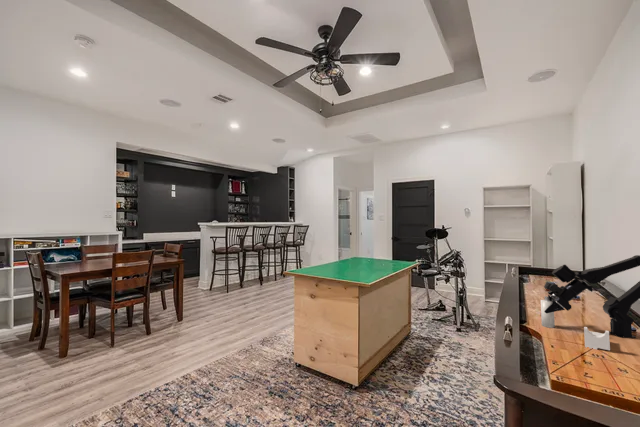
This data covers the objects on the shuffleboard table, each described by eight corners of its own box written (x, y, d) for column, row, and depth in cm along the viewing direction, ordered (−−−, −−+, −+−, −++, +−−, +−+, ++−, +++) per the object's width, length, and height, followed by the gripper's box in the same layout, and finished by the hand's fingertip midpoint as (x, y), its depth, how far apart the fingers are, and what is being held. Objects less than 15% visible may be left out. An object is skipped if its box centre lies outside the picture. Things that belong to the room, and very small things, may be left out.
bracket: (610, 352, 111) (609, 332, 111) (584, 347, 116) (583, 328, 116) (609, 343, 120) (608, 324, 120) (585, 338, 125) (584, 320, 125)
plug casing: (557, 328, 138) (556, 298, 139) (546, 327, 138) (544, 297, 139) (550, 324, 143) (548, 295, 144) (539, 324, 143) (537, 295, 144)
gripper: (551, 274, 148) (526, 294, 153) (560, 279, 132) (532, 301, 136) (572, 291, 144) (545, 311, 149) (584, 299, 128) (554, 321, 132)
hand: (543, 310), depth 142 cm, fingers open, 6 cm apart
